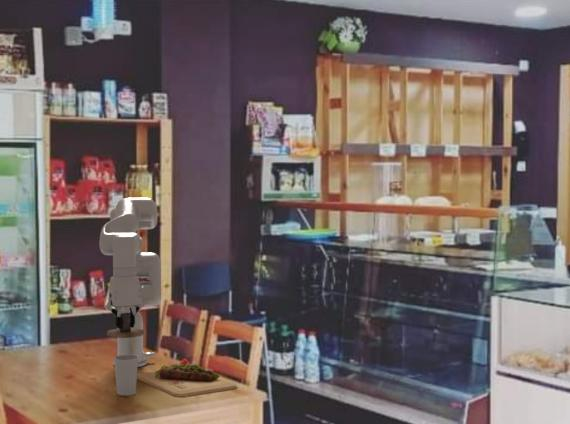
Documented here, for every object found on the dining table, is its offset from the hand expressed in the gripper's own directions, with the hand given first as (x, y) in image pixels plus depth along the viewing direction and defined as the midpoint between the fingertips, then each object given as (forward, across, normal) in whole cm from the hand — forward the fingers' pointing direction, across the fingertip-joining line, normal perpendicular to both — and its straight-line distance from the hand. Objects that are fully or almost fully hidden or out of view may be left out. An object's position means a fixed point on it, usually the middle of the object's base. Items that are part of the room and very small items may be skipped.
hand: (125, 327), depth 305 cm
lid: (+2, 0, 0) cm, 2 cm away
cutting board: (+23, -23, -3) cm, 33 cm away
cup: (+22, 0, 0) cm, 22 cm away
